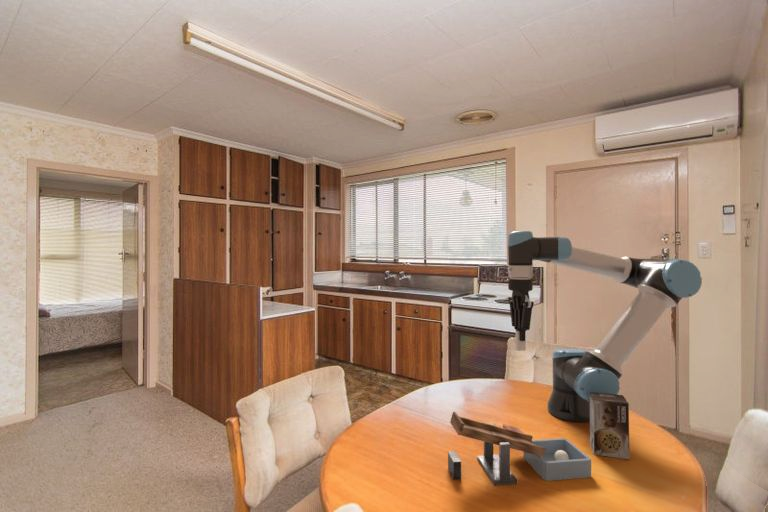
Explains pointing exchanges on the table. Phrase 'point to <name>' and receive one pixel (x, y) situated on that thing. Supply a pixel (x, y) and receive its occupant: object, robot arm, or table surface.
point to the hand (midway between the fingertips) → (520, 349)
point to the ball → (561, 455)
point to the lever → (495, 434)
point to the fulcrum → (488, 464)
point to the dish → (563, 468)
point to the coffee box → (609, 425)
